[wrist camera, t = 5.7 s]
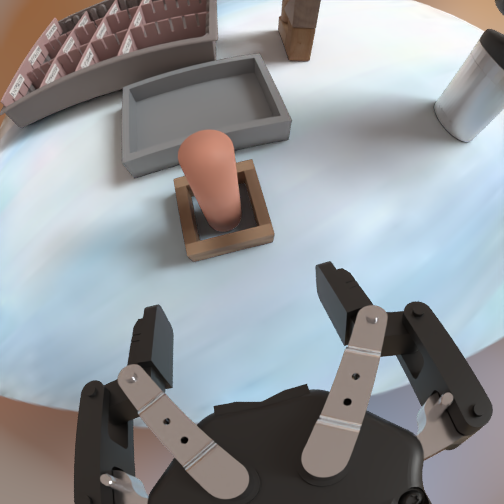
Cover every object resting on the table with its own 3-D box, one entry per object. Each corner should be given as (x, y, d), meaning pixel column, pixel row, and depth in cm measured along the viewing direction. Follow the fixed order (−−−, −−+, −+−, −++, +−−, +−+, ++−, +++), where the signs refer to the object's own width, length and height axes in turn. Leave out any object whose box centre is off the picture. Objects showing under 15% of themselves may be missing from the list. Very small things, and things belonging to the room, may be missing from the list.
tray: (259, 72, 37) (259, 53, 33) (288, 139, 34) (291, 120, 30) (131, 103, 36) (123, 87, 32) (134, 178, 33) (122, 163, 29)
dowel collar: (252, 172, 33) (252, 159, 30) (272, 242, 31) (274, 234, 28) (179, 190, 32) (173, 179, 29) (193, 261, 30) (187, 256, 27)
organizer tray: (222, 78, 37) (216, 28, 27) (21, 136, 36) (-7, 109, 26) (218, 0, 44) (215, -33, 34) (65, 42, 43) (51, 18, 33)
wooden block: (288, 61, 37) (298, -32, 20) (277, 30, 40) (282, -49, 22) (310, 61, 37) (327, -29, 20) (297, 30, 40) (306, -47, 22)
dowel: (237, 194, 32) (227, 124, 19) (245, 226, 31) (239, 168, 18) (203, 203, 32) (174, 137, 19) (210, 235, 31) (181, 182, 18)
